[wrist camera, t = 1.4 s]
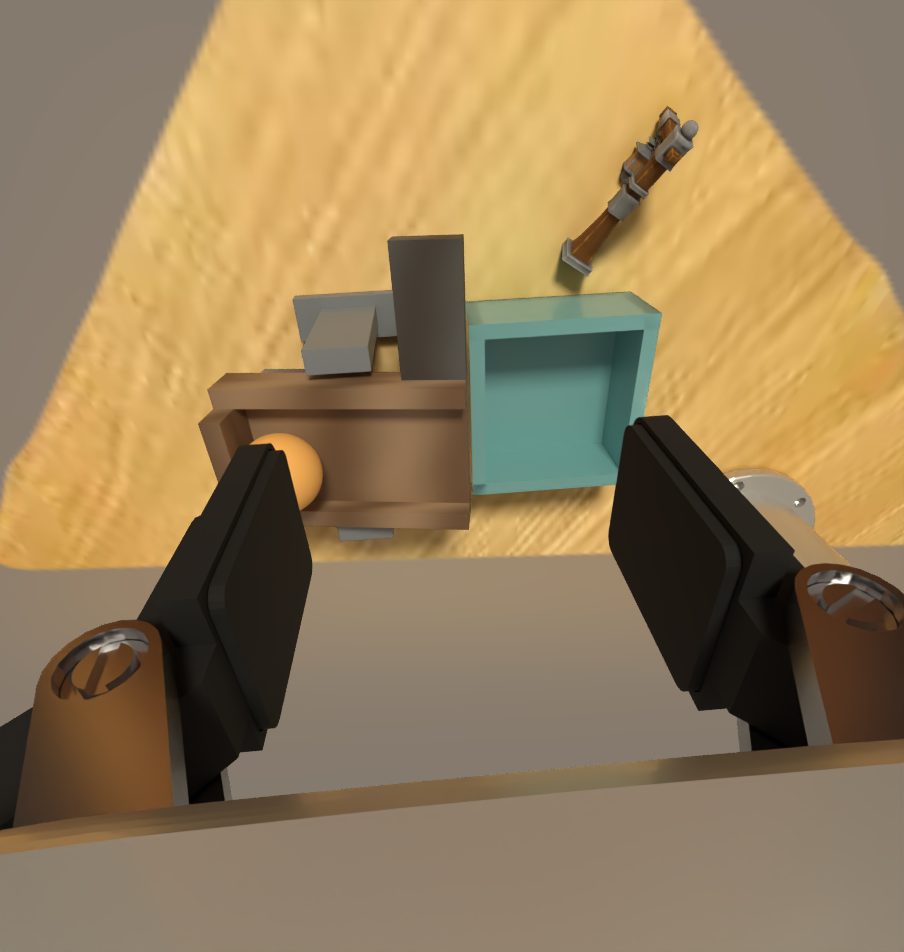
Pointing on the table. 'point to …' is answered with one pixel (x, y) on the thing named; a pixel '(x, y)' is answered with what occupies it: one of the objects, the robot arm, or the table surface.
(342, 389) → the lever
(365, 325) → the lever stand
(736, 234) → the table surface
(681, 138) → the wooden post with brackets
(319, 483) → the ball
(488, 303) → the teal open box
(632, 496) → the robot arm
